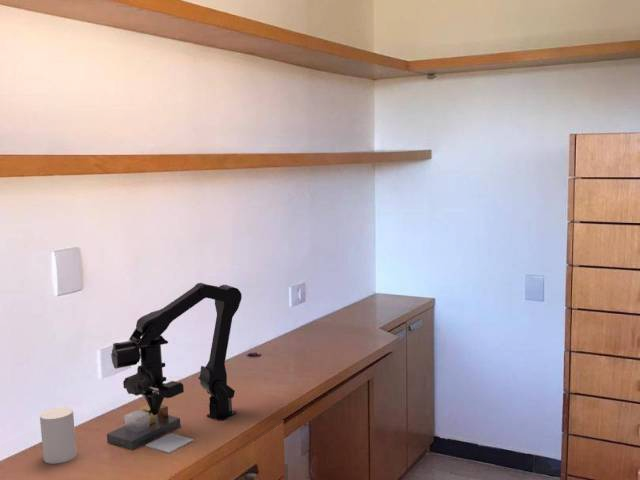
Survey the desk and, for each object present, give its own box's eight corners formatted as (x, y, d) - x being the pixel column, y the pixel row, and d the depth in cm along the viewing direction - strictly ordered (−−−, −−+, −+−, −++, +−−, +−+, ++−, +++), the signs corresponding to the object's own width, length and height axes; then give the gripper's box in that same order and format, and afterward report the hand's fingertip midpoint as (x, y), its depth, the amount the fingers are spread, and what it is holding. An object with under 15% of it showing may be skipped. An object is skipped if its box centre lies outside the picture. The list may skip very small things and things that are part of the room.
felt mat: (170, 434, 186) (170, 432, 186) (193, 440, 181) (193, 439, 181) (145, 446, 179) (145, 444, 179) (169, 453, 174) (169, 452, 174)
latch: (146, 418, 191) (145, 405, 191) (156, 421, 189) (155, 407, 188) (140, 421, 189) (139, 407, 189) (149, 423, 187) (149, 410, 186)
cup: (80, 449, 179) (77, 406, 177) (70, 462, 170) (66, 418, 169) (50, 450, 178) (46, 407, 177) (38, 464, 170) (34, 419, 169)
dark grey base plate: (156, 419, 197) (155, 402, 196) (180, 426, 191) (179, 408, 191) (107, 442, 182) (105, 423, 181) (131, 450, 177) (130, 430, 176)
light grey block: (137, 423, 188) (136, 409, 188) (149, 426, 186) (148, 413, 185) (125, 429, 185) (124, 415, 184) (137, 432, 182) (136, 418, 181)
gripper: (106, 364, 183) (110, 418, 185) (153, 374, 173) (157, 431, 175) (137, 354, 193) (140, 405, 195) (183, 362, 183) (186, 416, 184)
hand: (155, 414), depth 187 cm, fingers closed
